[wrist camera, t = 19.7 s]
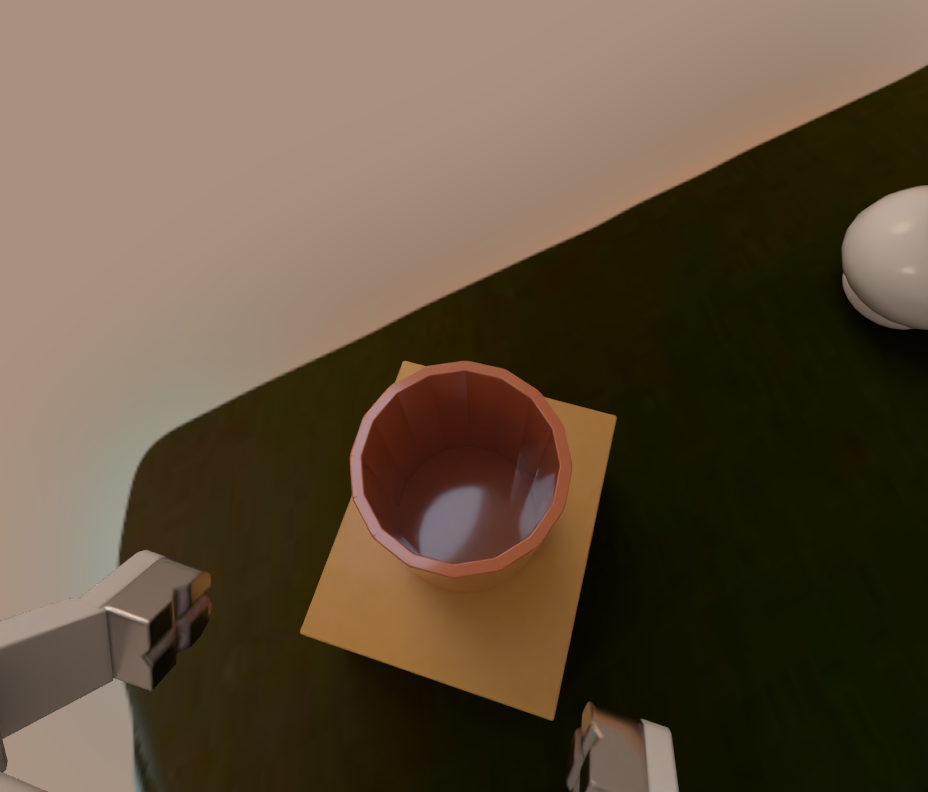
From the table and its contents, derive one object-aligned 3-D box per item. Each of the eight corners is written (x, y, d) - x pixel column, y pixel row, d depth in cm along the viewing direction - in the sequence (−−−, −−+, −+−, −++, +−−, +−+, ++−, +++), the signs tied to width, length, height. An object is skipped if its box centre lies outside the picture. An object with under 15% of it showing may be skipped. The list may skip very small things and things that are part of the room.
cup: (491, 418, 24) (495, 328, 17) (570, 540, 22) (616, 498, 15) (368, 489, 23) (314, 425, 16) (439, 624, 21) (416, 623, 14)
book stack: (591, 458, 32) (626, 404, 24) (537, 702, 27) (559, 735, 19) (417, 410, 34) (397, 345, 26) (338, 634, 29) (283, 639, 21)
